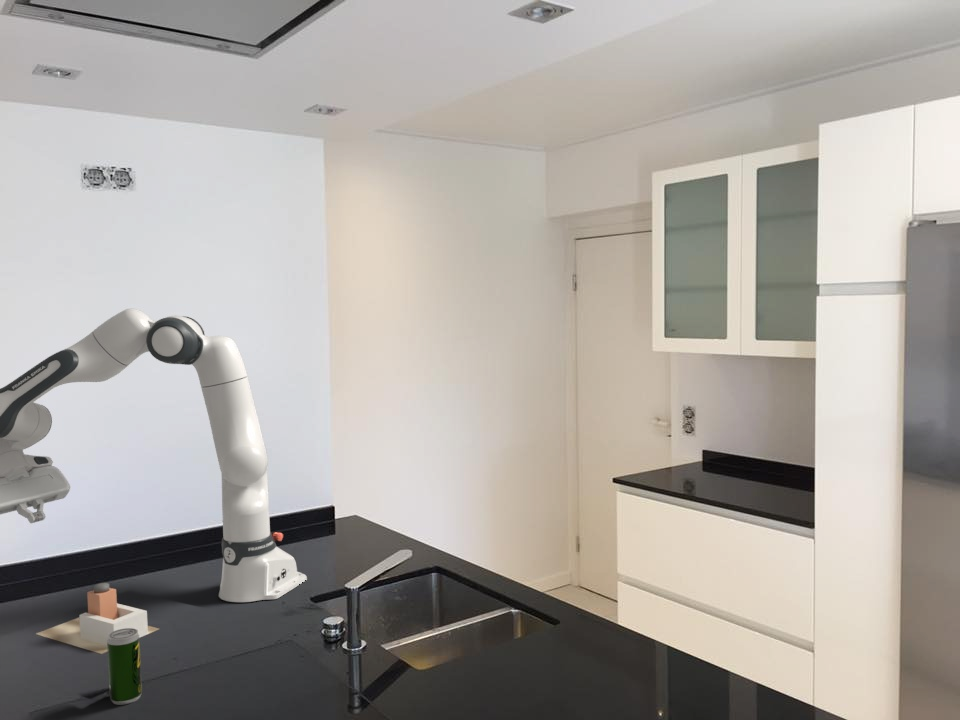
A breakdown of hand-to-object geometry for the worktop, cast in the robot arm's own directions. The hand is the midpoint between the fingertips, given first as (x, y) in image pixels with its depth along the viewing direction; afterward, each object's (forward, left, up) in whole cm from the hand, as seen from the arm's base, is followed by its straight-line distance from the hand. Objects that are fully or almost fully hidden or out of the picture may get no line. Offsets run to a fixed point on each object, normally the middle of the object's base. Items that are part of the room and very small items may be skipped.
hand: (38, 520), depth 182 cm
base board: (0, +20, -23) cm, 31 cm away
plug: (0, +22, -22) cm, 31 cm away
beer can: (+15, +49, -24) cm, 56 cm away
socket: (0, +25, -22) cm, 33 cm away
